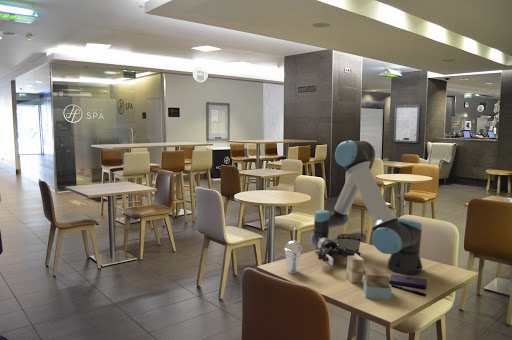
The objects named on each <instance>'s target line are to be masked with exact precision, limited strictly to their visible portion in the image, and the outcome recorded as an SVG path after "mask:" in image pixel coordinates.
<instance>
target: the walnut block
mask: <svg viewBox="0 0 512 340" xmlns="http://www.w3.org/2000/svg"><path fill="white" fill-rule="evenodd" d="M364 272H365V273H364V278H365V281H366V286H371V287H380V288H389V285H390V275H389V273H388V270H387V269H385V268H376V267H374V268H373V267H365V270H364Z"/></svg>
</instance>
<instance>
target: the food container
mask: <svg viewBox="0 0 512 340" xmlns="http://www.w3.org/2000/svg"><path fill="white" fill-rule="evenodd" d="M336 240H337V245H338V247H339V248H342V249H344V247H346V248H348V249H351V250H354V251H357V252H359V251H360V245H361V243H362V237H361V236H359V235H357V234H354V233H353V234H352V233H339V234H338V235H337V237H336ZM340 254H341V253H340Z"/></svg>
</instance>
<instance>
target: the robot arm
mask: <svg viewBox="0 0 512 340" xmlns="http://www.w3.org/2000/svg"><path fill="white" fill-rule="evenodd" d="M334 159H335V162H336V163H337V164H338V165H339V166H341V167H343V168H344V170H345V171H346V172H345V173H346V174H348V176H347V179H346V181H345V182H344V185H343V187H342V190H341V192H340V194H339V197H338V198H337V200H336V203H335V205H334V208H333V209H332V212H330V211H329V210H326V209H317V210H316V211H315V212H314V218H313V219H314V224H313V225H314V226H313V233H312V234H311V236H310V242H311V244H312V245H313V246H314V247H315V248H317V249H318V256H317V259H318V260H319V261H320V260H322V262H327V263H328V264H329V265H330V266H334V258H333V257H334V256H337V257H338V256H339V257H345V258H347V256H360V257H361V252H357V251H354V250H351V249H348V248H346V247H344V249H342V248H339V247H338V243H337V242H335V241H334V240H332V239H331V238H329V234H330V229H332V228H337V227H341V226H344V225H346V224H348V221H349V212H350V209H351V208H352V205H353V203H354V201H355V199H356V197H357V194H358V192H359V195H360V197H361V199H362V201H363V203H364V206H365V208H366V210H367V213H368V214H369V216H370V218H371V221H372V225H371V229H372V232H373V234H372V238H371V241H372V243H373V244H372V245H373V246H374V247H375V249H376V250H378V252H380V253H382V254H386V255H390V256H389V258H388V260H387V265H386V266H387V268H388V269H389V270H390V271H392V272H393V273H398V274H401V275H409V276H411V275H412V276H413V275H415V276H416V275H420V274H422V273H423V264H422V259H421V255H420V251H421V241H422V232H423V229H422V228H423V227H422V226H423V225H422V223H421V222H420V221H417V220H412V219H406V218H399V217H396V216H395V215H392V213H391V211H390V209H389V207H388V204H387V202H386V200H385V198H384V196H383V195H382V192H381V190H380V188H379V185H378V184H377V182H376V180H375V178H374V176H373V173H372V171H371V169H372V168H373V165H374V162H375V160H376V150H375V148H374V146H373V145H372V144H371V143H370V142H368V141H367V140H344V141H342V142H340V143H339V144H338V145H337V147H336V149H335V152H334ZM340 253H341V254H340ZM361 258H363V257H361Z"/></svg>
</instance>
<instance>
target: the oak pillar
mask: <svg viewBox="0 0 512 340" xmlns="http://www.w3.org/2000/svg"><path fill="white" fill-rule="evenodd" d="M346 258H347V259H346V270H345V271H346V272H345V273H346V275H345V279H346V280H347V281H348V283H350V284H363V282H364V267H365V266H364V264H365V259H364V258H363V257H362V258H361V255H360V256H347V257H346Z"/></svg>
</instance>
